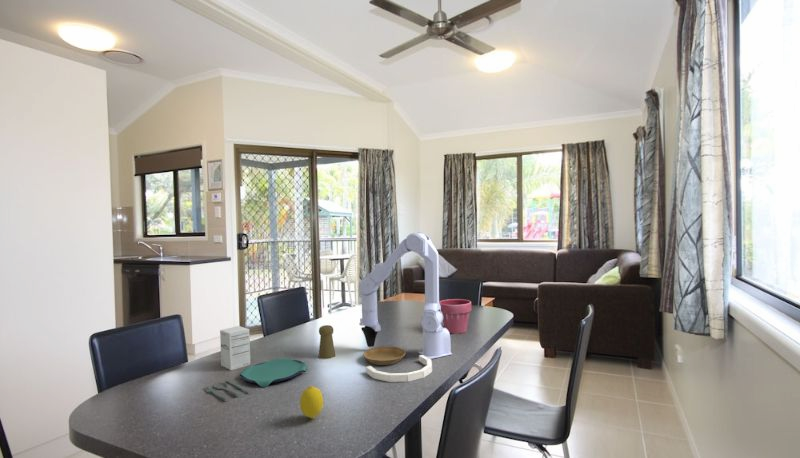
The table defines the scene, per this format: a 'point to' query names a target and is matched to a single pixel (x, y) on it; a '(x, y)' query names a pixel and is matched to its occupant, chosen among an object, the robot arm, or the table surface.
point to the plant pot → (455, 314)
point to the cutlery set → (264, 374)
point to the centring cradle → (402, 376)
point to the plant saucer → (384, 355)
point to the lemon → (311, 402)
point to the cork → (326, 342)
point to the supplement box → (235, 347)
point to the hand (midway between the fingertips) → (370, 346)
